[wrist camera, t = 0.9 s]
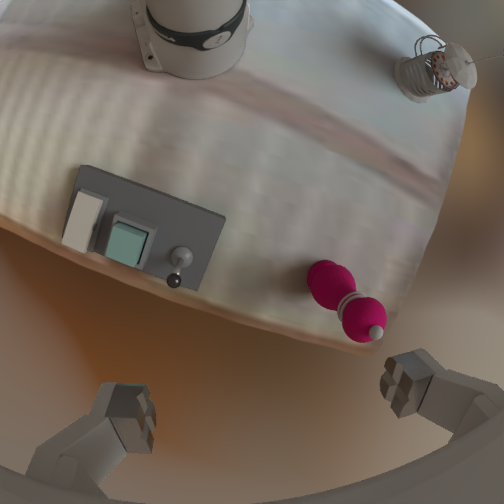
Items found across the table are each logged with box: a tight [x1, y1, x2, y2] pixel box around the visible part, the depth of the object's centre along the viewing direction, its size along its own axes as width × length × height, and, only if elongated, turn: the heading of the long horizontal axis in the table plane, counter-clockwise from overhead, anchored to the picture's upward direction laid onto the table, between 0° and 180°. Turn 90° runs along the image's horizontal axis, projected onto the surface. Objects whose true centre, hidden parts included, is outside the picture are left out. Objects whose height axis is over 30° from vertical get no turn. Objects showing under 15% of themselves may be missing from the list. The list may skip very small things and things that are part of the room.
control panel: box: [62, 165, 226, 291], centre depth 41 cm, size 24×12×6 cm, turn 67°
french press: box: [394, 35, 504, 103], centre depth 30 cm, size 10×12×25 cm
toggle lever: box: [167, 257, 184, 288], centre depth 40 cm, size 2×2×6 cm
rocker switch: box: [61, 191, 103, 253], centre depth 38 cm, size 4×8×2 cm, turn 157°
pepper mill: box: [307, 260, 387, 343], centre depth 41 cm, size 7×7×20 cm
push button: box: [105, 222, 147, 268], centre depth 38 cm, size 4×4×3 cm
